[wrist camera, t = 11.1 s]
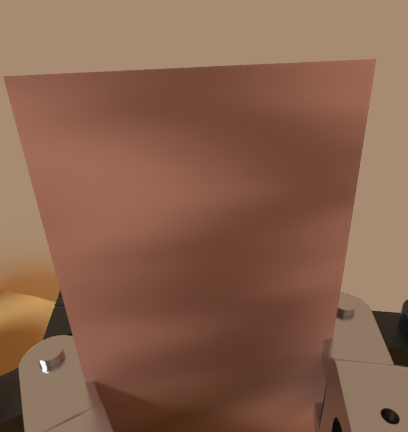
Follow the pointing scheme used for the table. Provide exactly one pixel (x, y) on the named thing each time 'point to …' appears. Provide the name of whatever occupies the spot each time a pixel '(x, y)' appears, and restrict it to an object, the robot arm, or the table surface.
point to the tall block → (199, 232)
